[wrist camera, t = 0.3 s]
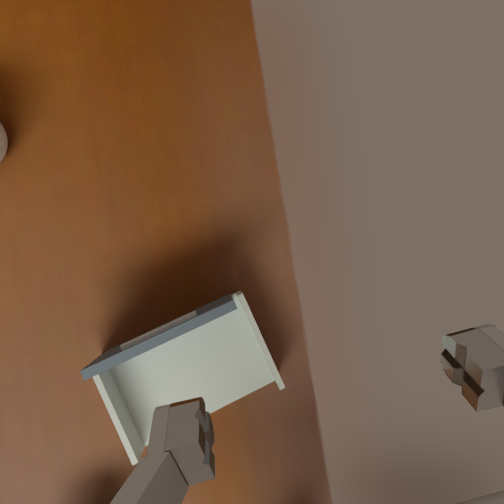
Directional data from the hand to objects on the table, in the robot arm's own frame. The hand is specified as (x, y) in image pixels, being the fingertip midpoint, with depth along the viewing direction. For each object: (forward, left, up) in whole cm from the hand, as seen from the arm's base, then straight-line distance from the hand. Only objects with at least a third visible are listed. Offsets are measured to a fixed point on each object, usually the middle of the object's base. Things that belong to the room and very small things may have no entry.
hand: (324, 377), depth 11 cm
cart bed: (-7, +15, -55) cm, 57 cm away
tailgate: (+2, +13, -52) cm, 54 cm away
